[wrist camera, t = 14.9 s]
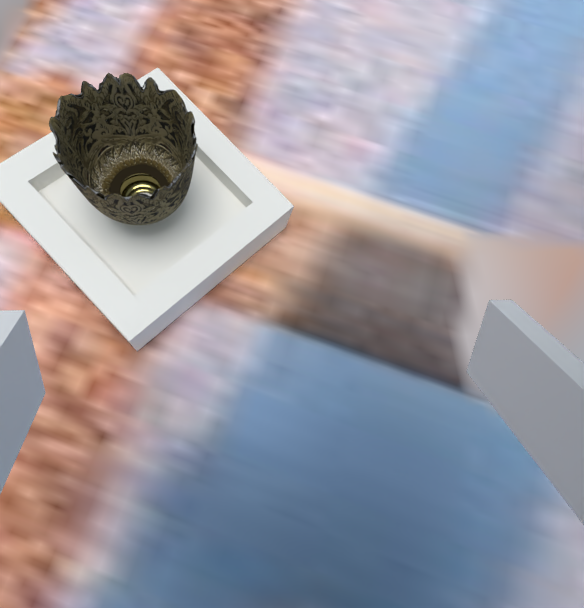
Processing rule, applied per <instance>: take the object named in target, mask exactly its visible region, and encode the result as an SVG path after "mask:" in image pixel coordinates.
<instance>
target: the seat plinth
mask: <svg viewBox="0 0 584 608" xmlns="http://www.w3.org/2000/svg"><path fill="white" fill-rule="evenodd" d="M148 77H152V79H153V80H155V81H156V83H157V85H158V88H159V90H162V91H166V90H170V89H174V90H176V91H177V93H178V94H179V95H180V96H181V98H182V99H183V101H184V103H185V106H186V109H187V111H188V112H189V111H192V113H193V116H194V119H195V125H194V131H195V136H196V143H197V144H198V147H197V151H196V155H195V162H194V168H193V174H192V179H191V183H190V187H189V190H188V192H187V195H186V197H185V199H184V200H183V202H182V204H181V205H180V206H179V207H178V209H177V210H176V211H175V212H173V213H172V214H171V215H170V216H168V217H167V218H165V219H163V220H161V221H159V222H156V223H153V224H148V225H129V224H124V223H120V222H117V221H115V220H112V219H111V218H109V217H107V216H105V215H104V214H102V213H101V212H100V211H98V210H97V209H96V208H95V207H94V206H93V205H92V204H91V203H90V202H89V201H88V200H87V199H86V198H85V197H84V196H83V194H82V193H81V192H80V191H79V190H78V188H77V187H76V186H75V185H74V183H73V182H72V181H71V179H70V178H69V177H68V175H66V174H65V173H64V171H63V170H62V169H61V168H60V165H59V163H58V162H57V161H56V159H55V157H54V155H53V152H54V153H56V150H55V147H54V145H55V144H56V139H55V137H54V134H53V132H51V133H49V134H48V135H46V136H45V137H43V138H41V139H40V140H38V141H36V142H35V143H33V144H31V145H30V146H28V147H26V148H25V149H23V150H21V151H20V152H18V153H17V154H15V155H13V156H12V157H10V158H8V159H7V160H5V161H3V162H2V163H0V202H1V203H2V204H3V206H4V207H5V208H6V209H7V210H8V211H9V212H10V213H11V214H12V215H13V216H14V218H15V219H16V220H17V221H18V222H19V223H20V224H21V225H22V226H23V227H24V228H25V230H26V231H27V232H28V233H29V234H30V235H31V236H32V237H33V238H34V239H35V240H36V242H37V243H38V244H39V245H40V246H41V247H42V248H43V249H44V250H45V251H46V252H47V254H48V255H49V256H50V257H51V258H52V259H53V260H54V261H55V262H56V263H57V264H58V266H59V267H60V268H61V269H62V270H63V271H64V272H65V273H66V274H67V275H68V277H69V278H70V279H71V280H72V281H73V282H74V283H75V284H76V285H77V286H78V287H79V289H80V290H81V291H82V292H83V293H84V294H85V295H86V296H87V297H88V298H89V299H90V301H91V302H92V303H93V304H94V305H95V306H96V307H97V308H98V309H99V310H100V311H101V313H102V314H103V315H104V316H105V317H106V318H107V319H108V320H109V321H110V322H111V323H112V325H113V326H114V327H115V328H116V329H117V330H118V331H119V332H120V333H121V334H122V335H123V337H124V338H125V339H126V340H127V341H128V342H129V343H130V344H131V345H132V346H133V347H134V349H135V350H136V351H138V350H140V349H141V348H142V347H143V346H144V345H146V344H147V343H148V342H149V341H150V340H152V339H153V338H154V337H155V336H156V335H158V334H159V333H160V332H161V331H162V330H164V329H165V328H166V327H167V326H168V325H170V324H171V323H172V322H173V321H174V320H175V319H177V318H178V317H179V316H180V315H181V314H183V313H184V312H185V311H186V310H187V309H189V308H190V307H191V306H192V305H193V304H195V303H196V302H197V301H198V300H199V299H201V298H202V297H203V296H204V295H205V294H207V293H208V292H209V291H210V290H211V289H213V288H214V287H215V286H216V285H217V284H219V283H220V282H221V281H222V280H223V279H225V278H226V277H227V276H228V275H229V274H231V273H232V272H233V271H234V270H235V269H237V268H238V267H239V266H240V265H241V264H243V263H244V262H245V261H246V260H247V259H249V258H250V257H251V256H252V255H253V254H255V253H256V252H257V251H258V250H259V249H261V248H262V247H263V246H264V245H265V244H267V243H268V242H269V241H270V240H271V239H273V238H274V237H275V236H276V235H277V234H279V233H280V232H281V231H282V230H283V229H284V228H286V225H287V223H288V220H289V217H290V215H291V212H292V210H293V207H294V206H293V205H292V204H291V203H290V202H289V201H288V200H287V199H286V198H285V197H284V195H283V194H282V193H281V192H280V191H279V190H278V189H277V188H276V187H275V186H274V185H273V184H272V183H271V182H270V181H269V180H268V179H267V178H266V177H265V176H264V175H263V174H262V173H261V172H260V171H259V170H258V169H257V168H256V167H255V166H254V165H253V164H252V163H251V162H250V161H249V160H248V159H247V158H246V157H245V156H244V155H243V154H242V153H241V152H240V151H239V150H238V149H237V148H236V147H235V146H234V145H233V144H232V143H231V142H230V141H229V139H228V138H227V137H226V136H225V135H224V134H223V133H222V132H221V131H220V130H219V129H218V128H217V127H216V126H215V125H214V124H213V123H212V122H211V121H210V120H209V119H208V118H207V117H206V116H205V115H204V114H203V113H202V112H201V111H200V110H199V109H198V108H197V107H196V106H195V105H194V104H193V103H192V102H191V101H190V100H189V99H188V98H187V97H186V96H185V95H184V94H183V93H182V92H181V91H180V90H179V89H178V88H177V87H176V86H175V85H174V83H173V82H172V81H171V80H170V79H169V78H168V77H167V76H166V75H165V74H164V73H163V72H162V71H161V70H160V69H159V68H156V69H155V70H153V71H152V72H150V73H148V74H147V75H145V76H143V77H142V78H140V79H138V80H137V81H138V82H139V84H140V85H141V87H143V85H144V82H145V81H146V79H148ZM144 87H145V86H144ZM143 89H144V88H143ZM56 154H57V153H56ZM141 193H143V194H147V195H149V196H152V194H150V193H147V192H141Z"/></svg>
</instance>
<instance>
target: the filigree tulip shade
mask: <svg viewBox="0 0 584 608" xmlns="http://www.w3.org/2000/svg"><path fill="white" fill-rule="evenodd" d="M144 86H145V87H144ZM143 88H144V89H143ZM194 125H195V119H194V116H193V113H192V111H189V112H188V111H187V109H186V106H185V103H184V101H183V99H182V98H181V96H180V95H179V94H178V93H177V91H176V90H174V89H170V90H166V91H162V90H159V88H158V85H157V83H156V81H155V80H153V79H152V77H148V79H146V81H145V82H144V85H143V87H141V85H140V84H139V82H138V81H137V79H136V78H135V77H134V76H132V75H131V74H128V73H124V74H123V75H120V76H119V78H117V77H114V76H113V75H112V74H110V73H108V74H107V75H106V76H105V78H104V80H103V82H102V83H100V84H99V89H98V90H97V89H96V88H94V87H93V85H91V84H89V83H88V82H86V81H83V82H82V86H81V94H78V95H73V94H69V95H66V96H61V97H60V98H59V100H58V105H57V111H56V115H55V117H51V118H50V121H49V126H50V129H51V131H52V132H53V134H54V137H55V139H56V144H55V145H54V147H55V150H56V153H57V154H56V153H54V152H53V155H54V157H55V159H56V161H57V162H58V163H59V165H60V168H61V169H62V170H63V171H64V173H65V174H66V175H68V177H69V178H70V179H71V181H72V182H73V183H74V185H75V186H76V187H77V188H78V190H79V191H80V192H81V193H82V194H83V196H84V197H85V198H86V199H87V200H88V201H89V202H90V203H91V204H92V205H93V206H94V207H95V208H96V209H97V210H98V211H100V212H101V213H102V214H104V215H105V216H107V217H109V218H111V219H112V220H115V221H117V222H120V223H124V224H129V225H148V224H153V223H156V222H159V221H161V220H163V219H165V218H167V217H168V216H170V215H171V214H172V213H173V212H175V211H176V210H177V209H178V207H179V206H180V205H181V204H182V202H183V200H184V199H185V197H186V195H187V192H188V190H189V187H190V183H191V179H192V174H193V168H194V162H195V155H196V151H197V147H198V144H197V143H196V136H195V131H194ZM141 192H147V193H150V194H152V196H149V195H147V194H143V193H141Z"/></svg>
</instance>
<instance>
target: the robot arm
mask: <svg viewBox="0 0 584 608" xmlns="http://www.w3.org/2000/svg"><path fill="white" fill-rule="evenodd" d="M467 373H468V375H469V376H470V377H471V378H472V380H473V381H474V382H475V384H476V385H477V386H478V388H479V389H480V390H481V392H482V393H483V394H484V395H485V397H486V398H487V399H488V401H489V402H490V403H491V405H492V406H493V407H494V409H495V410H496V411H497V412H498V414H499V415H500V416H501V418H502V419H503V420H504V422H505V423H506V424H507V426H508V427H509V428H510V429H511V431H512V432H513V433H514V435H515V436H516V437H517V439H518V440H519V441H520V442H521V444H522V445H523V446H524V448H525V449H526V450H527V452H528V453H529V454H530V456H531V457H532V458H533V459H534V461H535V462H536V463H537V465H538V466H539V467H540V469H541V470H542V471H543V473H544V474H545V475H546V476H547V478H548V479H549V480H550V482H551V483H552V484H553V486H554V487H555V488H556V490H557V491H558V492H559V493H560V495H561V496H562V497H563V499H564V500H565V501H566V503H567V504H568V505H569V507H570V508H571V509H572V510H573V512H574V513H575V514H576V516H577V517H578V518H579V520H580V521H581V522H582V524H583V525H584V363H583V362H582V361H581V360H580V359H579V358H578V357H576V356H575V355H574V354H573V353H572V352H571V351H570V350H569V349H567V348H566V347H565V346H564V345H563V344H562V343H560V342H559V341H558V340H557V339H556V338H555V337H554V336H553V335H551V334H550V333H549V332H548V331H547V330H546V329H545V328H543V327H542V326H541V325H540V324H539V323H538V322H537V321H535V320H534V319H533V318H532V317H531V316H530V315H529V314H527V313H526V312H525V311H524V310H523V309H522V308H521V307H519V306H518V305H517V304H516V303H515V302H514V301H513V300H489V302H488V306H487V309H486V312H485V315H484V318H483V321H482V325H481V328H480V331H479V334H478V337H477V340H476V343H475V346H474V350H473V353H472V356H471V359H470V362H469V365H468V369H467ZM44 395H45V389H44V385H43V381H42V377H41V373H40V369H39V365H38V361H37V357H36V353H35V349H34V345H33V342H32V338H31V334H30V330H29V326H28V322H27V318H26V314H25V310H12V311H0V494H1V491H2V489H3V487H4V485H5V482H6V480H7V478H8V476H9V473H10V471H11V469H12V467H13V464H14V462H15V460H16V458H17V455H18V453H19V451H20V449H21V446H22V444H23V442H24V440H25V437H26V435H27V433H28V431H29V429H30V426H31V424H32V422H33V420H34V417H35V415H36V413H37V411H38V408H39V406H40V404H41V402H42V399H43V397H44Z"/></svg>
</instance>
